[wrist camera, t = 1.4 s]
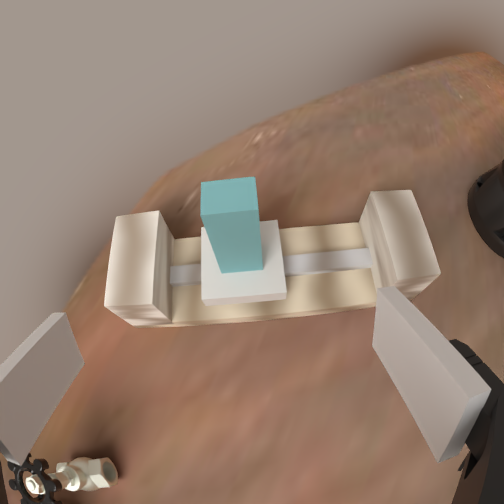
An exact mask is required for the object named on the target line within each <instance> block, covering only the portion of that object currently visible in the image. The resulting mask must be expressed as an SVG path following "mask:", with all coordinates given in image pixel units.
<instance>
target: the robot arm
mask: <svg viewBox="0 0 504 504" xmlns="http://www.w3.org/2000/svg"><path fill="white" fill-rule="evenodd" d="M468 208H469V212H470V216H471V219H472V221H473V223H474V225H475V227H476V229H477V231H478V233H479V234H480V236H481V237H482V238H483V240H484V241H485V242H486V244H487V245H488V246H489V247H490V248H491V249H492V250H493V251H494V252H496V253H497V254H498V255H500V256H501V257H503V258H504V160H503V161H502V162H501V163H500V164H498V165H497V166H495V167H494V168H492V169H491V170H489V171H488V172H486V173H485V174H483V175H481V176H480V177H479V178H478V179H477V180H476V181H475V183H474V184H473V186H472V187H471V189H470V191H469V194H468ZM372 347H373V348H374V350H375V352H376V353H377V355H378V357H379V358H380V360H381V362H382V363H383V365H384V367H385V369H386V370H387V372H388V374H389V375H390V377H391V379H392V381H393V382H394V384H395V386H396V388H397V389H398V391H399V393H400V395H401V396H402V398H403V400H404V402H405V403H406V405H407V407H408V409H409V411H410V412H411V414H412V416H413V418H414V420H415V422H416V423H417V425H418V427H419V429H420V431H421V433H422V435H423V436H424V438H425V440H426V442H427V444H428V446H429V448H430V450H431V452H432V453H433V455H434V457H435V459H436V461H437V463H439V462H442V461H444V460H447V459H449V458H452V457H454V456H456V455H458V454H459V453H460V451H461V449H462V447H463V446H464V444H465V443H466V444H467V446H468V448H469V449H470V451H469V453H468V454H467V456H466V458H465V459H464V461H463V462H462V464H461V465H460V467H459V469H458V471H461V470H462V468H463V467H464V468H463V471H462V474H461V477H460V481H459V484H458V487H457V490H456V493H455V496H454V498H453V501H452V504H504V384H503V383H502V381H501V380H500V379H499V378H498V377H497V376H496V375H495V374H494V373H493V372H492V370H491V369H490V368H489V367H488V366H487V365H486V364H485V363H483V361H482V360H481V359H480V358H479V357H478V356H476V354H475V353H474V352H473V350H472V349H471V348H470V347H469V346H468V345H466V344H464V343H462V342H460V341H458V340H457V339H454V340H450V341H448V340H447V339H446V338H445V337H444V336H443V335H442V334H441V333H440V332H439V330H438V329H437V328H436V327H435V326H434V325H433V324H432V323H431V322H430V321H429V320H428V319H427V318H426V317H425V316H424V315H423V314H422V313H421V312H420V311H419V310H418V309H417V308H416V307H415V306H414V305H413V304H412V303H411V302H410V301H409V300H408V299H407V298H406V297H405V296H404V295H403V294H402V293H401V292H400V291H399V290H398V289H397V288H396V287H395V286H390V287H383V288H377V301H376V313H375V324H374V334H373V343H372ZM84 364H85V363H84V361H83V358H82V356H81V353H80V351H79V348H78V346H77V343H76V341H75V338H74V335H73V332H72V330H71V327H70V324H69V321H68V318H67V315H66V313H52V314H51V315H50V316H49V317H48V318H47V319H46V320H45V321H44V322H43V323H42V324H41V325H40V326H39V327H38V328H37V329H36V330H35V331H34V332H33V333H32V334H31V335H30V336H29V337H28V338H27V339H26V340H25V341H24V342H23V343H22V344H21V345H20V346H19V347H18V348H17V349H16V350H15V351H14V352H13V353H12V354H11V355H10V356H9V357H8V358H7V359H6V360H5V361H4V362H3V363H2V364H1V366H0V452H1V453H2V454H3V455H4V457H5V458H6V459H7V460H8V461H10V462H13V463H15V464H17V465H20V466H22V464H23V462H24V460H25V459H26V457H27V455H28V453H29V452H30V450H31V448H32V447H33V445H34V443H35V441H36V440H37V438H38V436H39V435H40V433H41V431H42V430H43V428H44V426H45V425H46V423H47V421H48V420H49V418H50V417H51V415H52V413H53V412H54V410H55V408H56V407H57V405H58V404H59V402H60V401H61V399H62V397H63V396H64V394H65V393H66V391H67V390H68V388H69V387H70V385H71V384H72V382H73V381H74V379H75V378H76V376H77V375H78V373H79V372H80V370H81V369H82V367H83V366H84ZM0 504H8V500H7V495H6V490H5V485H4V480H3V474H2V467H1V462H0Z"/></svg>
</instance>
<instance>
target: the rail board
mask: <svg viewBox="0 0 504 504" xmlns="http://www.w3.org/2000/svg"><path fill="white" fill-rule="evenodd" d="M279 235H280V243H281V250H282V258H283V265H284V273H285V281H286V289H287V295H286V299H283V300H273V301H262V302H251V303H240V304H227V305H214V306H205V304H204V303H203V301H202V296H201V237H192V238H182V239H174V238H173V236H172V234H171V232H170V230H169V228H168V226H167V225H166V223H165V221H164V219H163V217H162V215H161V213H160V211H152V212H145V213H138V214H131V215H124V216H117V217H116V221H115V227H114V233H113V239H112V245H111V252H110V259H109V266H108V274H107V283H106V292H105V302H104V306H105V307H106V308H107V309H109V310H110V311H112V312H113V313H115V314H116V315H118V316H119V317H121V318H122V319H124V320H125V321H127V322H128V323H130V324H131V325H133V326H134V327H136V328H150V327H175V326H195V325H211V324H226V323H239V322H251V321H263V320H273V319H283V318H293V317H302V316H311V315H319V314H327V313H335V312H343V311H350V310H357V309H364V308H371V307H376V301H377V288H383V287H390V286H395V287H396V288H397V289H398V290H399V291H400V292H401V293H402V294H403V295H404V296H405V297H406V298H407V299H408V300H409V301H411V300H413V299H414V298H415V297H416V296H417V295H418V294H419V293H421V292H422V291H423V290H424V289H425V288H426V287H427V286H428V285H429V284H430V283H432V282H433V281H434V280H435V279H436V278H437V277H438V276H439V275H440V274H441V272H440V268H439V265H438V262H437V259H436V256H435V253H434V250H433V247H432V244H431V241H430V238H429V235H428V232H427V229H426V227H425V224H424V221H423V219H422V216H421V213H420V211H419V208H418V206H417V203H416V201H415V198H414V196H413V193H412V191H411V190H394V191H371V192H370V195H369V197H368V200H367V203H366V205H365V208H364V210H363V213H362V215H361V218H360V220H359V222H356V223H344V224H331V225H319V226H308V227H296V228H285V229H279Z"/></svg>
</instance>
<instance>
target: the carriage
mask: <svg viewBox="0 0 504 504" xmlns="http://www.w3.org/2000/svg"><path fill="white" fill-rule="evenodd" d="M201 218H202V221H203V224H204V227H201V296H202V301H203V303H204V304H205V306H214V305H227V304H240V303H251V302H262V301H273V300H283V299H286V295H287V289H286V281H285V273H284V265H283V258H282V250H281V243H280V235H279V228H278V220H271V221H260V222H259V210H258V200H257V191H256V181H255V177H245V178H235V179H226V180H217V181H209V182H201Z"/></svg>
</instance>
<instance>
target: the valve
mask: <svg viewBox="0 0 504 504" xmlns="http://www.w3.org/2000/svg"><path fill="white" fill-rule="evenodd" d="M29 457H32V456H31V454H30V453H28V455H27V457H26V459H25V460H24V462H23V464H22V466H20V465H17V464H15V463H13V462H10V461H8V467H9V469H10V470H11V471H13V472H14V474H15V479H10V480H9V485H10V487H11V488H12V489H13V490H19V491H20V493H21V495H22V497H23V498H22V499H21V504H63V503H62V502H61V501H56V500H54V499H53V498H54V492H56V491H60V490H62V489H63V488H65V489H66V490H70V491H77V490H80V489H82V490H85V491H95V490H97V489H99V488H103V487H111V486H114V485H116V484H118V474H117V470H116V468H115V466H114V464H113V463H112V461H111V460H110V459H109V458H108V457H106V458H99V459H91V458H87V457H80V458H76V459H74V460H73V461H71V462H64V463H57V468H56V473H51V474H48V475H47V474H45V472H44V470H45V469H48V468H49V465H48V462H47V461H46V460H45V459H35V460H34V462H33V463H30V461H29ZM24 471H29V472H31V473H32V474H33V475H32V476H31V477H27V478H26V486H27V488H28V489H29V490H30V492H31V493H35V494H39V495H38V497H36V498H33V497H31V496H30V494H29V493H28V492H27V490H26V489H25V486H24V483H23V478H22V476H23V472H24Z"/></svg>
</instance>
